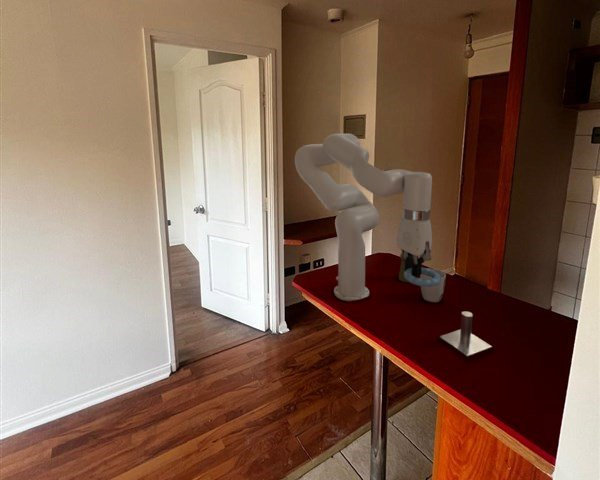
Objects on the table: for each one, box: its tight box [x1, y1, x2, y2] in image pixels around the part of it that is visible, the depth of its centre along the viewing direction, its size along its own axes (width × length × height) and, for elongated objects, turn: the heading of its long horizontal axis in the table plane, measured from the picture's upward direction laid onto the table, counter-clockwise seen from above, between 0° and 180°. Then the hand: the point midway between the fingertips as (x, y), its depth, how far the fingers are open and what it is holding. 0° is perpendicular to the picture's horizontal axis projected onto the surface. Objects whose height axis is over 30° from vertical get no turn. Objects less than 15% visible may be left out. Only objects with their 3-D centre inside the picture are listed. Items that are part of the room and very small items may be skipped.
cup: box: [419, 267, 447, 303], centre depth 110 cm, size 8×8×10 cm
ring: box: [404, 267, 441, 287], centre depth 94 cm, size 10×10×2 cm
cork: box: [398, 251, 414, 283], centre depth 127 cm, size 6×6×11 cm
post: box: [439, 311, 493, 358], centre depth 87 cm, size 9×9×9 cm
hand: (412, 273), depth 98 cm, fingers closed on ring, 2 cm apart
